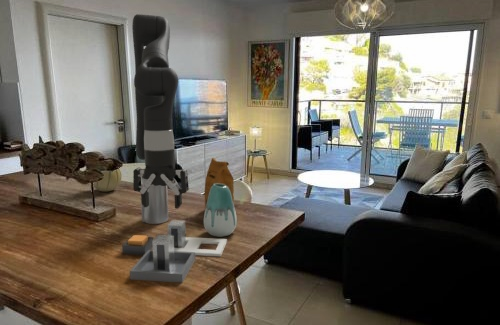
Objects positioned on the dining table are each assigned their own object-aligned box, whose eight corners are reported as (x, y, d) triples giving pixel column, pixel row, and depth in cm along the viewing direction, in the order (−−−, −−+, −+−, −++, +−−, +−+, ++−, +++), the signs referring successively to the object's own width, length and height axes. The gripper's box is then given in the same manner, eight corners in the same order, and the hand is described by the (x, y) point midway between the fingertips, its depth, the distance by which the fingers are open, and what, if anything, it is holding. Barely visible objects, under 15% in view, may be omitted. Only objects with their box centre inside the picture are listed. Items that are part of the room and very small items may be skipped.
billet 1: (153, 272, 100) (152, 241, 98) (159, 264, 104) (158, 234, 102) (169, 273, 99) (168, 242, 98) (174, 265, 104) (173, 235, 102)
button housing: (123, 257, 111) (122, 245, 110) (132, 247, 118) (132, 236, 117) (145, 259, 110) (144, 246, 109) (153, 249, 117) (153, 237, 116)
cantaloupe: (92, 188, 188) (90, 159, 185) (122, 186, 192) (121, 157, 189) (89, 196, 174) (86, 165, 171) (122, 193, 178) (120, 163, 175)
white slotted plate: (155, 256, 112) (155, 250, 112) (167, 241, 123) (167, 236, 122) (220, 260, 110) (220, 253, 109) (227, 244, 121) (226, 239, 120)
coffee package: (221, 205, 161) (221, 156, 157) (236, 213, 151) (236, 160, 147) (201, 209, 156) (200, 158, 151) (215, 218, 145) (214, 163, 141)
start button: (128, 248, 112) (128, 240, 111) (134, 242, 116) (134, 235, 115) (142, 248, 111) (142, 241, 111) (148, 242, 115) (147, 235, 115)
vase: (241, 229, 134) (241, 181, 130) (229, 241, 123) (229, 190, 120) (212, 225, 138) (211, 178, 134) (198, 237, 127) (196, 186, 123)
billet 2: (168, 252, 115) (167, 225, 113) (172, 246, 119) (171, 220, 117) (181, 253, 114) (181, 225, 112) (186, 247, 119) (185, 220, 117)
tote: (130, 283, 96) (129, 271, 96) (149, 260, 109) (148, 249, 108) (182, 286, 95) (182, 274, 94) (195, 263, 108) (195, 252, 107)
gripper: (126, 148, 92) (130, 210, 95) (182, 150, 91) (184, 212, 94) (138, 144, 100) (141, 202, 103) (190, 145, 98) (191, 203, 101)
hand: (162, 207), depth 98 cm, fingers open, 8 cm apart
